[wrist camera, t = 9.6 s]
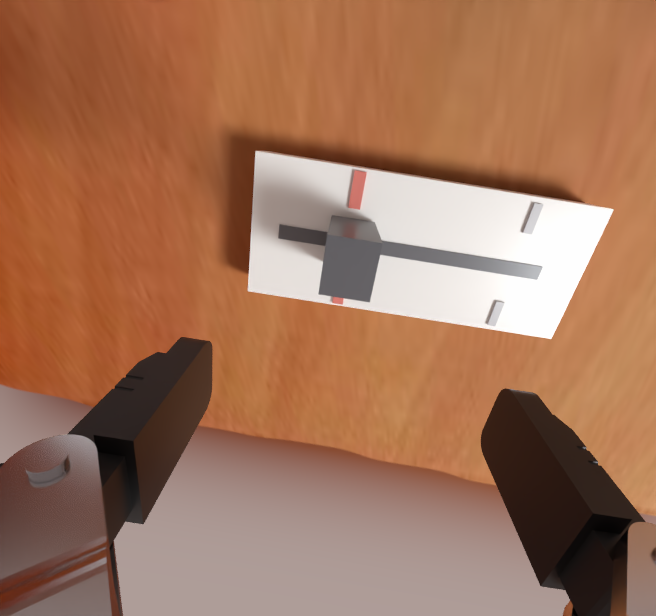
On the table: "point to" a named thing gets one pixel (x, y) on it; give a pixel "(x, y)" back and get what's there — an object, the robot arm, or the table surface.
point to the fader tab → (350, 259)
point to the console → (424, 243)
